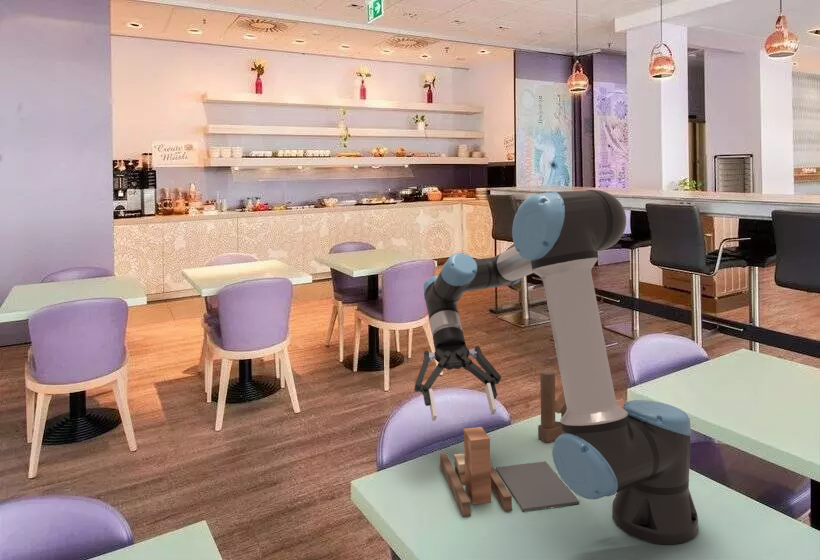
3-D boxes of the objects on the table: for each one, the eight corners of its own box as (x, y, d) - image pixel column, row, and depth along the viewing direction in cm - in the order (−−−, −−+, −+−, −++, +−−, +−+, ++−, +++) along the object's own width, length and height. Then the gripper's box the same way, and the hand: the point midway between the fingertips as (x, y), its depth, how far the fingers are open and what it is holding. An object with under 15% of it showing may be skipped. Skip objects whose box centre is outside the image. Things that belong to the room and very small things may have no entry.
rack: (512, 510, 119) (511, 496, 118) (462, 516, 117) (462, 502, 117) (481, 460, 140) (481, 449, 140) (440, 465, 139) (439, 453, 138)
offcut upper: (482, 472, 130) (482, 462, 130) (459, 475, 129) (459, 464, 129) (476, 462, 135) (476, 452, 135) (454, 464, 134) (454, 454, 134)
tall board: (491, 501, 122) (489, 438, 120) (472, 504, 121) (470, 440, 119) (483, 487, 128) (481, 426, 126) (465, 489, 127) (463, 428, 125)
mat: (579, 504, 120) (579, 501, 120) (522, 511, 118) (522, 508, 118) (545, 463, 137) (545, 461, 137) (495, 469, 135) (495, 467, 135)
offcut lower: (483, 483, 131) (482, 472, 130) (460, 485, 130) (460, 475, 129) (477, 472, 135) (476, 462, 135) (455, 475, 135) (454, 465, 134)
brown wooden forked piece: (580, 435, 152) (581, 368, 149) (546, 443, 148) (545, 375, 145) (571, 429, 155) (571, 364, 152) (537, 438, 151) (536, 371, 148)
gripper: (493, 337, 148) (514, 416, 136) (395, 345, 145) (408, 427, 132) (499, 321, 142) (521, 402, 130) (397, 329, 138) (410, 414, 126)
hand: (464, 415), depth 131 cm, fingers open, 13 cm apart
